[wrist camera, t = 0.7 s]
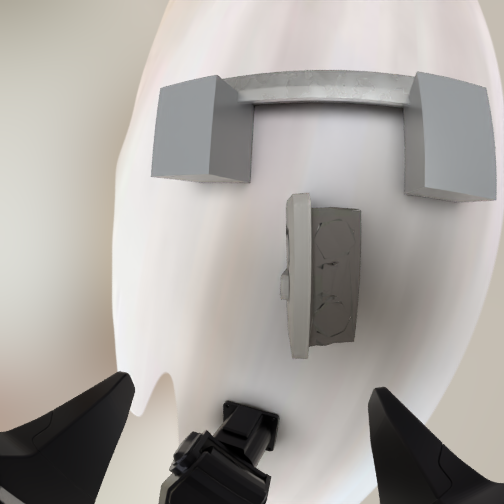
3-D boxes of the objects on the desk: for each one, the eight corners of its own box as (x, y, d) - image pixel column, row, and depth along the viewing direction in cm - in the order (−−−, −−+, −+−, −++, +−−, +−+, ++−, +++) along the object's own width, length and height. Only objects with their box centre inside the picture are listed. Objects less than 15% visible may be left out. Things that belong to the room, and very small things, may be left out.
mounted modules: (458, 202, 17) (496, 200, 11) (200, 182, 25) (151, 176, 19) (456, 117, 16) (485, 85, 9) (206, 110, 24) (160, 86, 18)
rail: (462, 129, 16) (476, 117, 13) (200, 120, 24) (179, 110, 21) (459, 104, 15) (471, 89, 12) (203, 98, 24) (182, 87, 21)
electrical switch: (287, 199, 23) (258, 193, 14) (349, 199, 21) (363, 191, 12) (288, 308, 24) (262, 361, 15) (347, 310, 23) (352, 366, 14)
